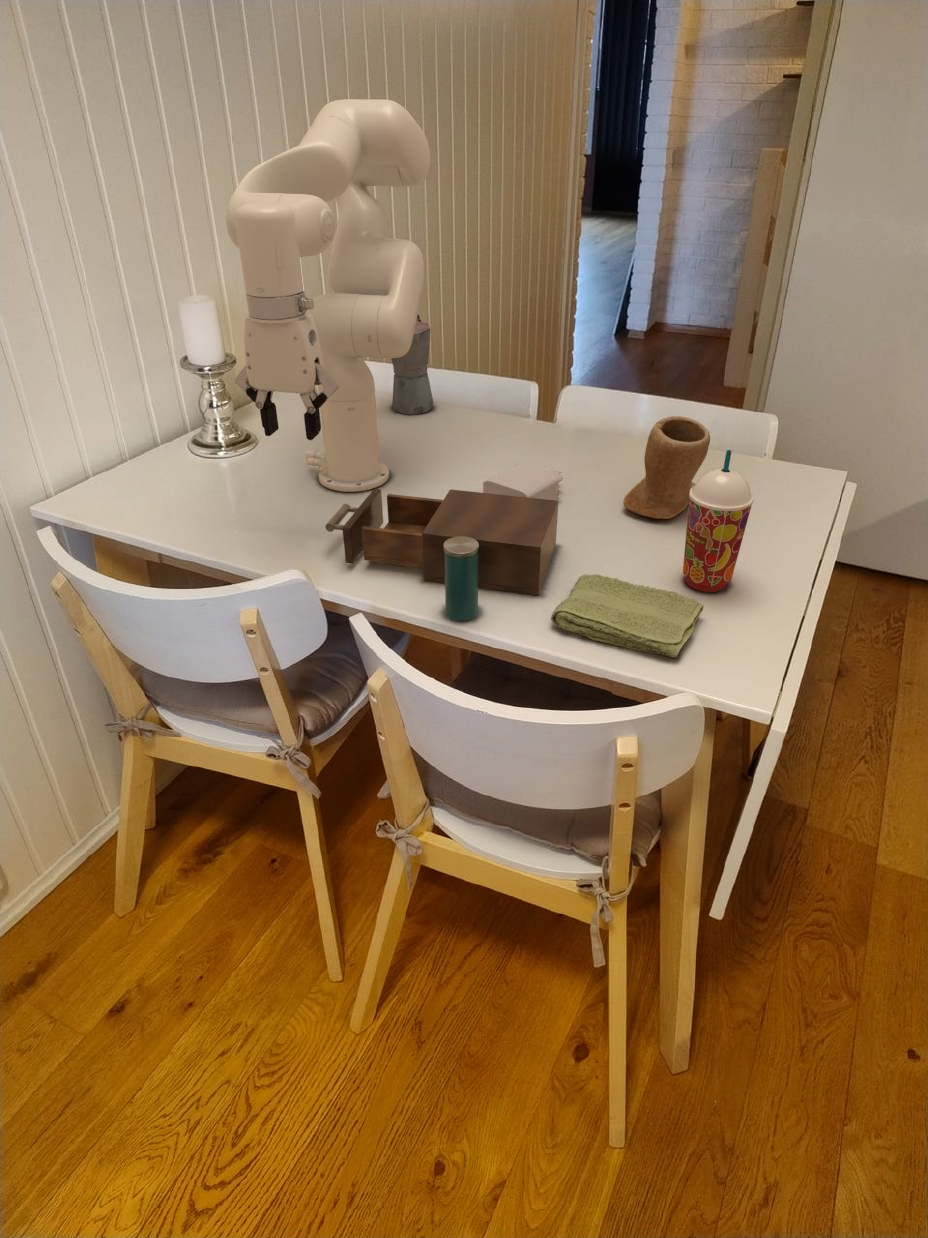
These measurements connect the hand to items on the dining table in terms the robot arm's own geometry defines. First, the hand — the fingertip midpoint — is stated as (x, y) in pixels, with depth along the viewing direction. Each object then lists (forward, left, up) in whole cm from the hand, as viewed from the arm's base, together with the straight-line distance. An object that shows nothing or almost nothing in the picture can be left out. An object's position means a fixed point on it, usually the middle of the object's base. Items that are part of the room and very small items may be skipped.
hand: (292, 433), depth 122 cm
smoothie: (+61, +2, -18) cm, 64 cm away
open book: (+31, +24, -18) cm, 43 cm away
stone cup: (+54, +26, -18) cm, 63 cm away
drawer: (+15, 0, -17) cm, 22 cm away
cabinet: (+30, 0, -18) cm, 35 cm away
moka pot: (-2, +62, -18) cm, 65 cm away
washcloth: (+51, -11, -18) cm, 55 cm away
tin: (+29, -14, -18) cm, 37 cm away
